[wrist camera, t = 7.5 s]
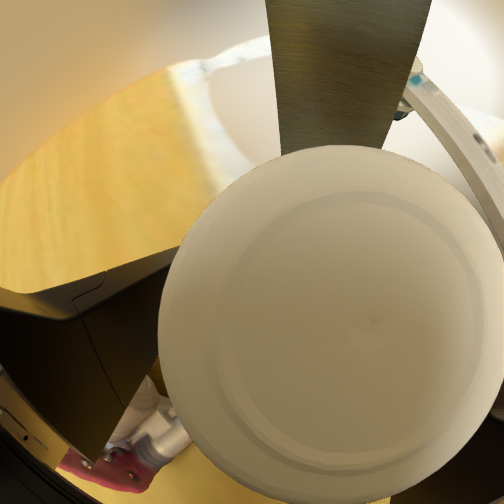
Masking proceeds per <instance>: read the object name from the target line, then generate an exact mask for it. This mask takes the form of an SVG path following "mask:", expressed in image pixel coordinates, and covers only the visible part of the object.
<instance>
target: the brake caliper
mask: <svg viewBox="0 0 504 504" xmlns="http://www.w3.org/2000/svg"><path fill="white" fill-rule="evenodd" d="M191 442H193V440H192V439H191V438H190V436H189V435H188V434H187V432H186V430H185V429H184V427H183V425H182V424H181V422H180V420H179V418H178V416H177V414H176V412H175V410H174V408H173V405H172V403H171V401H170V398H167V397H164V396H162V395H160V394H158V392H157V389H156V387H155V385H154V384H153V381H152V380H151V379H150V377H149V376H148V374H147V375H146V376H145V378H144V380H143V382H142V383H141V385H140V387H139V388H138V390H137V392H136V393H135V395H134V397H133V399H132V400H131V402H130V404H129V405H128V407H127V409H126V410H125V413H124V414H123V416H122V418H121V420H120V421H119V423H118V425H117V427H116V428H115V430H114V432H113V434H112V435H111V437H110V439H109V441H108V442H107V444H106V446H105V448H104V450H103V451H102V453H101V455H100V457H99V459H98V460H97V462H96V463H95V464H93V463H92V462H90V461H89V460H87V459H86V458H84V457H83V456H81V455H80V454H78V453H77V452H75V451H74V450H72V449H71V448H69V449H68V451H67V452H66V454H65V455H64V457H63V458H62V460H61V461H60V463H59V465H58V466H57V467H59V468H61V469H63V470H65V471H67V472H70V473H72V474H74V475H76V476H77V477H79V478H81V479H84V480H87V481H91V482H94V483H97V484H99V485H101V486H103V487H107V488H110V489H114V490H117V491H124V492H133V493H137V494H138V493H142V492H144V491H146V490H147V489H148V487H149V485H150V483H151V482H152V480H153V478H154V476H155V475H156V474H157V473H158V472H159V470H160V469H161V468H162V467H163V466H164V465H167V464H168V463H170V462H171V461H172V460H173V459H174V458H175V457H176V456H177V455H178V454H179V453H180V452H181V451H182V450H184V449H185V448H186V447H187V446H188V445H189V444H190V443H191ZM104 459H107V461H106V460H104ZM90 466H91V469H89V468H87V467H90ZM132 477H133V478H132Z"/></svg>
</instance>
